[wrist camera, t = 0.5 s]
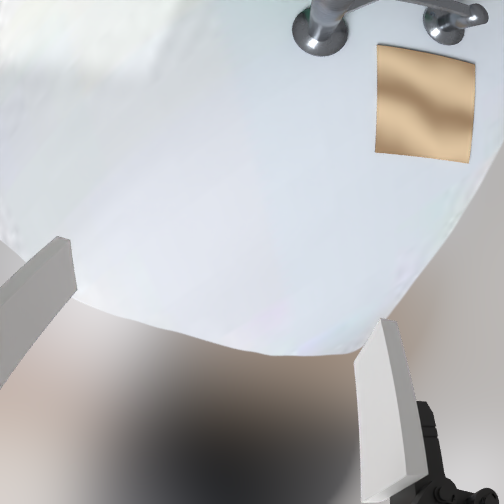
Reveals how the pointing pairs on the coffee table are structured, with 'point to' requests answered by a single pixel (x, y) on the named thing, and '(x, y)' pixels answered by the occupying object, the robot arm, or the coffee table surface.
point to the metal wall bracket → (341, 3)
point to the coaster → (424, 105)
